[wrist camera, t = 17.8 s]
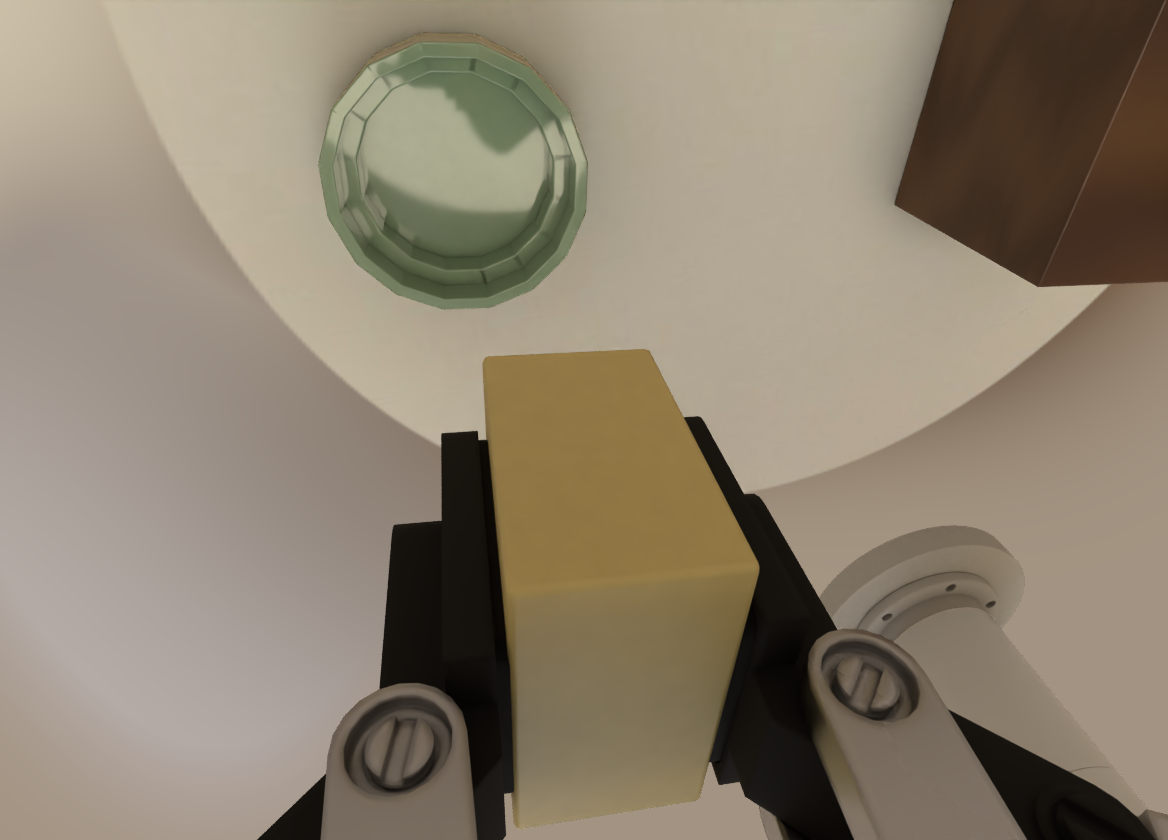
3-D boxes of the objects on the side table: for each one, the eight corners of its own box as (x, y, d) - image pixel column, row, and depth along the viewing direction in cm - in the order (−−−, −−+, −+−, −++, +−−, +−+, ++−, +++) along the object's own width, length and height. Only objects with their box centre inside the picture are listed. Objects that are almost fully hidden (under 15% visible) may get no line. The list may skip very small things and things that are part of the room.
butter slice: (627, 559, 13) (701, 803, 9) (493, 571, 12) (514, 832, 9) (649, 346, 10) (764, 566, 7) (482, 354, 10) (504, 593, 6)
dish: (570, 273, 33) (582, 304, 30) (353, 280, 31) (344, 313, 28) (576, 34, 27) (592, 44, 24) (311, 28, 25) (295, 38, 23)
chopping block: (1104, 201, 35) (1300, 277, 27) (893, 205, 34) (1037, 287, 25) (1266, -148, 28) (1610, -186, 19) (1002, -169, 26) (1262, -222, 18)
